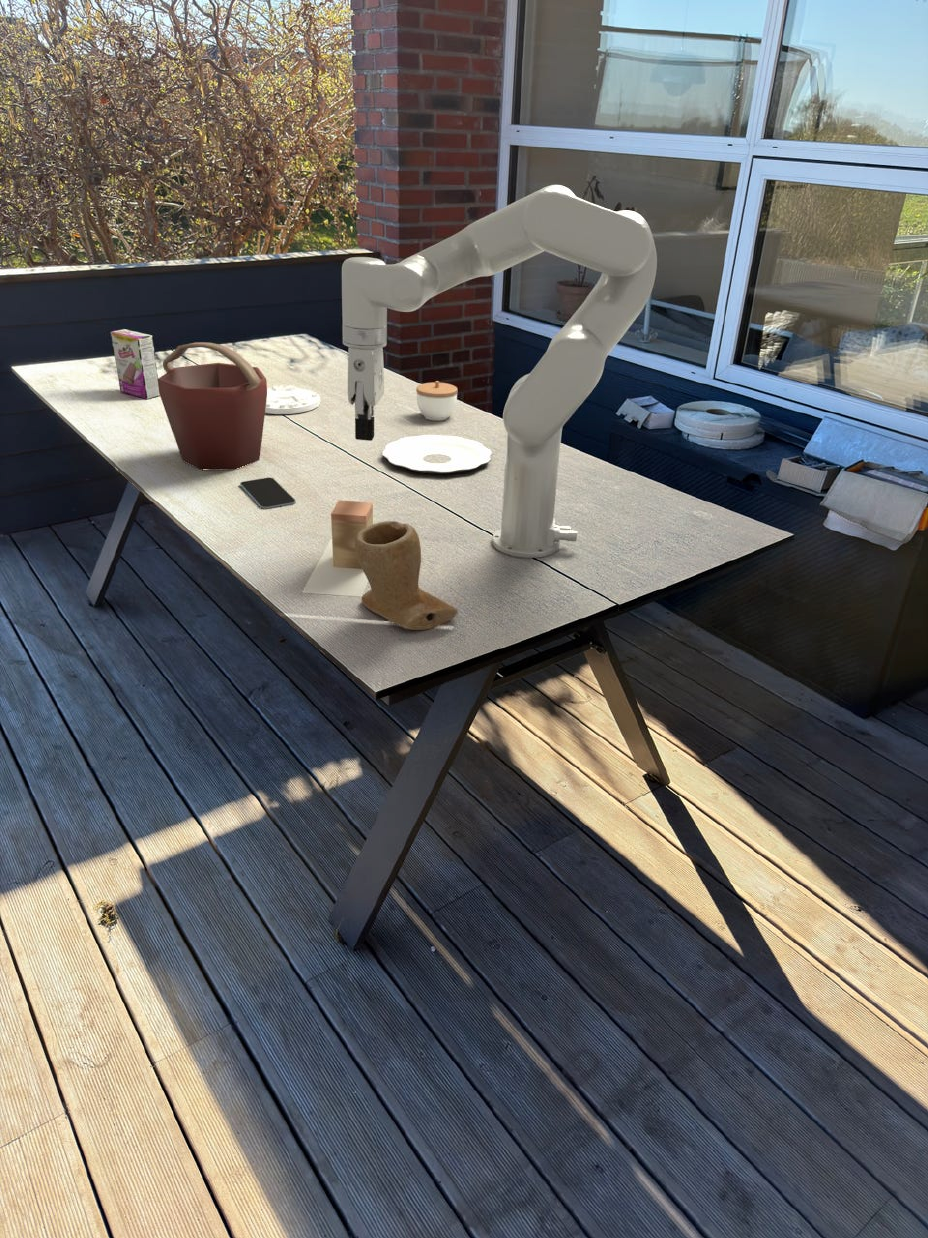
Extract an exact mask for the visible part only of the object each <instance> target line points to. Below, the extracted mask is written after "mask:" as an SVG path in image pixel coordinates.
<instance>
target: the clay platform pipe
mask: <svg viewBox="0 0 928 1238" xmlns="http://www.w3.org/2000/svg"><path fill="white" fill-rule="evenodd" d="M355 551H356V555H357V558H358V561H359V563H360V566H361V568H362V570H363V572H364V573H365V575H366V577H367V579H368V584H369V586H370V590H368V591H366V592H364V593H363V596H362V597H361V602H362V604H363V605H364V606H365V607H366V608H368V610H370V611H371V612H372V613H374V614H376V615H378V616H380V617H382V618H384V619H385V620H387V621H389V622H391V623H393V624H395V625H397V626H399V627H401V628H403V629H404V630H415V631H424V630H425V631H426V630H430V629H432V628H435V627H438V626H441V625H443V624H445V623H447V622H449V621H450V620H451V619H453V618H455V617H456V616H457V615H458V613H459V611H458V609H457V608H455V607H454V606H452V605H450V604H449V603H447V602H446V601H444V600H442V599H440V598H438V597H437V596H434V595H432V594H431V593H428V592H426V591H425V590H423V589H421V588H419V587H420V586H419V579H420V572H421V571H420V570H421V565H422V548H421V542H420V538H419V535H418V532H417V530H416V529H415V528H414V527H413V526H412V525H410V524H409V523H403V522H398V521H394V520H386V521H380V522H375V523H373V525H370V526H368V527H366V528H364V529H362V530H361V531H360V532H359V533H358V534H357V536H356V539H355Z"/></svg>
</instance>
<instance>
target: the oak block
mask: <svg viewBox="0 0 928 1238" xmlns="http://www.w3.org/2000/svg"><path fill="white" fill-rule="evenodd" d="M373 504H374V503H373V502H368V501H366V502H365V501H357V500H356V501H353V500H338V501H337V502H336V504H335V506H334V507H333V509H332V511H331V513H330V518H331V519H330V520H331V538H332V548H333V567H341V568H355V569H362V568H361V566H360V563H359V561H358V558H357V555H356V551H355V539H356V536H357V534H358V533H359V532H360V531H361V530H362V529H364V528H366V527H368V526H370V525H373V524H374V513H373V512H374V511H373V510H374V506H373Z"/></svg>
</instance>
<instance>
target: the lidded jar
mask: <svg viewBox="0 0 928 1238" xmlns="http://www.w3.org/2000/svg"><path fill="white" fill-rule="evenodd" d="M415 390H416V403H417V407H418V410H419V411H420V413H421V414H422V415H423V416H424V418H425V419H426V420H428V421H429V420H430V421H437V422H438V421H444V420H447V419H448V418H449V416H451V414H453V412H454V410H455V408H456V406H457V401H458V393H459V392H458V387H457V386H455V385H453V384H451V383H446V382H440V381H438V380H436V381H435V382H426V383H421V384H419V385H417V386H416V388H415Z"/></svg>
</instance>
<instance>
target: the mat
mask: <svg viewBox="0 0 928 1238" xmlns="http://www.w3.org/2000/svg"><path fill="white" fill-rule="evenodd" d="M368 584H369V581H368V579H367V577H366V575H365V573H364V572H363V570H362V569H355V568H341V567H333V548H332V537H331V538H330V540H329V541H328V544H327V545H326V547H325V549H324V551H323V553H322V555H321V556H320V558H319V560H318V562H317V564H316V565H315V568H313V571H312V573H311V575H310V576H309V579H308V580H307V582H306V584H305V586H304V588H303V590H302V591H301V593H303V594H316V595H332V596H343V597H355V598H362V596H363V595H364V594H365V590H366V588H367V586H368Z"/></svg>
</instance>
